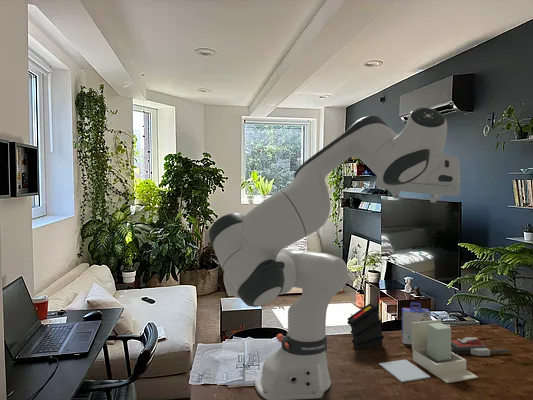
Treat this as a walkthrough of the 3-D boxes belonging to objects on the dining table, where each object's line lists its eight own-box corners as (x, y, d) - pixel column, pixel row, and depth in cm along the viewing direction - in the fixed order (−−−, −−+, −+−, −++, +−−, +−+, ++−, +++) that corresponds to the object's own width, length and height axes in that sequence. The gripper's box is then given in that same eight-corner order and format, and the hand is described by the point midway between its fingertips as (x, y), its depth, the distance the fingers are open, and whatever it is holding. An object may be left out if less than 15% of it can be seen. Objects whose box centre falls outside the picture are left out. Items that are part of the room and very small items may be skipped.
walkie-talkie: (456, 358, 131) (512, 356, 132) (456, 345, 131) (512, 343, 132) (442, 347, 140) (495, 345, 141) (442, 335, 140) (495, 333, 141)
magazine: (390, 340, 141) (376, 305, 139) (363, 360, 137) (347, 325, 135) (384, 336, 145) (369, 302, 142) (357, 356, 141) (341, 321, 138)
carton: (446, 383, 113) (447, 341, 113) (411, 359, 129) (412, 322, 129) (477, 377, 116) (478, 337, 116) (439, 355, 132) (440, 319, 132)
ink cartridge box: (428, 340, 145) (429, 302, 144) (431, 346, 140) (432, 307, 139) (401, 338, 147) (401, 300, 147) (402, 344, 142) (403, 305, 141)
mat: (401, 382, 114) (401, 381, 114) (379, 364, 125) (379, 363, 125) (430, 377, 117) (430, 376, 117) (405, 360, 128) (405, 359, 128)
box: (437, 370, 122) (438, 329, 121) (426, 363, 126) (427, 324, 126) (450, 368, 123) (451, 327, 122) (439, 361, 128) (440, 322, 127)
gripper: (374, 171, 95) (373, 203, 106) (465, 178, 88) (454, 212, 99) (377, 152, 98) (376, 185, 109) (465, 158, 92) (455, 192, 103)
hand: (414, 198), depth 104 cm, fingers open, 8 cm apart
